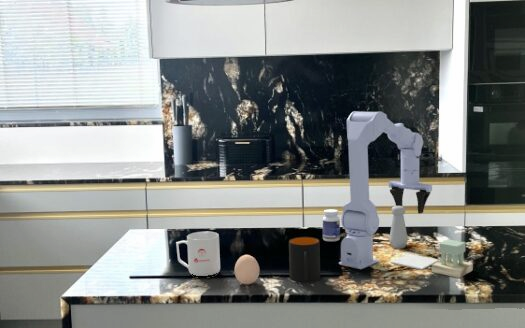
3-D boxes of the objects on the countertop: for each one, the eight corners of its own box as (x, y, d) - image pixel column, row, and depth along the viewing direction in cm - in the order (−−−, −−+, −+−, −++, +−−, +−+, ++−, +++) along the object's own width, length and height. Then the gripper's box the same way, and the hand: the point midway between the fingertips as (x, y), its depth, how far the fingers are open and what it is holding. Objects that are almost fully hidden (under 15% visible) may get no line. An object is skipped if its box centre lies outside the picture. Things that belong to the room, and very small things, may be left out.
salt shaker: (394, 243, 192) (394, 203, 190) (411, 245, 188) (411, 205, 186) (385, 247, 187) (385, 207, 185) (402, 250, 184) (402, 209, 182)
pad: (421, 269, 165) (421, 268, 164) (390, 263, 171) (390, 261, 171) (439, 261, 172) (439, 259, 172) (408, 254, 179) (408, 253, 178)
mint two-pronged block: (456, 268, 159) (457, 246, 158) (439, 264, 162) (439, 243, 161) (465, 263, 162) (465, 242, 161) (448, 260, 166) (448, 239, 165)
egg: (231, 282, 160) (230, 253, 159) (254, 278, 163) (252, 250, 161) (240, 289, 154) (239, 260, 153) (263, 285, 157) (262, 256, 155)
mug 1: (220, 267, 172) (219, 230, 171) (220, 277, 164) (218, 238, 162) (179, 270, 172) (177, 232, 170) (176, 280, 163) (174, 240, 162)
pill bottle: (340, 241, 196) (340, 212, 194) (323, 242, 196) (323, 212, 194) (338, 237, 201) (338, 208, 200) (322, 237, 201) (321, 208, 200)
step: (459, 277, 157) (459, 270, 157) (431, 271, 162) (431, 264, 162) (472, 270, 163) (472, 263, 162) (445, 264, 168) (445, 257, 168)
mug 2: (290, 288, 154) (289, 249, 152) (289, 273, 166) (288, 237, 164) (322, 287, 154) (322, 248, 152) (319, 272, 166) (318, 236, 164)
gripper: (436, 169, 187) (436, 211, 189) (396, 166, 197) (396, 206, 199) (425, 173, 182) (425, 216, 184) (385, 169, 192) (385, 210, 194)
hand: (409, 211), depth 191 cm, fingers open, 7 cm apart
